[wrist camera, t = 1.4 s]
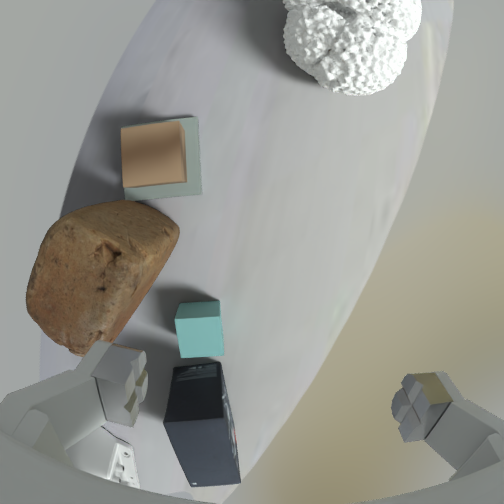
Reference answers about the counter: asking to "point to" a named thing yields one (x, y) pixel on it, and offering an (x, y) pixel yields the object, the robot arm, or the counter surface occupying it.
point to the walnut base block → (153, 155)
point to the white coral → (351, 41)
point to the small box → (202, 426)
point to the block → (97, 271)
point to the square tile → (192, 164)
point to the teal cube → (199, 329)
